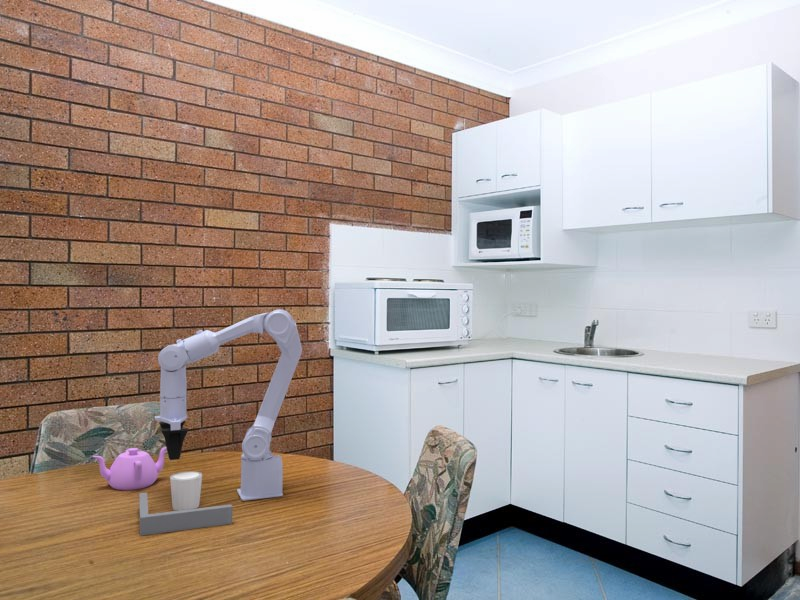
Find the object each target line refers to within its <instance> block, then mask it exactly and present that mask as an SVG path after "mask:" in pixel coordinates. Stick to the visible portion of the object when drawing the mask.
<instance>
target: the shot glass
mask: <svg viewBox="0 0 800 600" xmlns="http://www.w3.org/2000/svg"><path fill="white" fill-rule="evenodd" d="M169 479H170V494H171V505H172V509H173V510H174V511H180V510H189V509H197V508H199V507H200V501H201V500H200V499H201V491H202V483H203V482H202V481H203V473H202V472H200V471H195V470H194V471H193V470H191V471H189V470H188V471H186V470H185V471H180V472H179V471H178V472H175V473H173V474H171V475H170V476H169Z"/></svg>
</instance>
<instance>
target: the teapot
mask: <svg viewBox="0 0 800 600" xmlns="http://www.w3.org/2000/svg"><path fill="white" fill-rule="evenodd" d="M166 452H167V448H166V446H164V447H162V448H160V451H159V454H158V455H159V456H158V460H157V462H155V461H154V459H153V458H152V456H151V455H150V454H149V453H148V452H147V451H143V450H140V451H139V448H138V447H130V448H127V449H125V451H124V452H123V453H120V454H119V455H117V457H116V458H115V460H114V461H113V463H112V465H111V466H110V468H107V467H106V462H105V461H106V460H105V459H104V458H103V456H100V455H92V457H93V458H94V459H96V460H97V462H98V465H99V473H100V475H101V477H102V478H103V479H105V480H106V481H107V483H108V485H110V487H111V488H112V489H114V490H119V491H133V490H139V489H144V488H147V487H148V488H149V486H151V485H153V484H154V483H155V481H157V479H158V476H159V474H160V472H161V471H162V470H163V468H164V465H165V455H166V454H165V453H166Z"/></svg>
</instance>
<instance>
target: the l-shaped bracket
mask: <svg viewBox="0 0 800 600" xmlns="http://www.w3.org/2000/svg"><path fill="white" fill-rule="evenodd" d="M148 504H149V503H148V492H139V504H138V505H139V506H138V507H139V508H138V509H139V510H138V511H139V513H138V515H139V516H138V517H139V536H140V537H141V536H149V535H156V534H163V533H172V532H180V531H186V530H187V531H188V530H194V529H202V528H209V527H210V528H211V527H217V526H225V525H232V524H233V511H234V510H233V505H232V503H231V504H223V505H216V506H215V505H214V506H208V507H207V506H206V507H197V508H195V509H189V510H180V511H177V510H174V511H165V512H156V513H149V505H148Z"/></svg>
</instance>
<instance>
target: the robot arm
mask: <svg viewBox="0 0 800 600" xmlns="http://www.w3.org/2000/svg"><path fill="white" fill-rule="evenodd" d="M195 333H196V334H193V335H191V336H189V337H187V338H184V339H183V340H182V338H179V339H177V340H176V343H174V344H169V345H167V346H165V347H164V348H163V349H161V350H160V352H159V353H158V357H157V362H158V364H159V366H160V381H159V382H160V385H159V387H160V388H159V391H160V393H159V396H160V397H159V405H160V406H159V407H160V408H159V415H155V416H154V421H159V422H158V424H159V426H160V427H161V430H160V431H161V434H162V436H163V437H164V441H165V447H166V448H167V450H166V452H167V454H168V459H169V461H174V460H175V461H176V460H180V458H181V455H182V448H183V445H184V441H185V438H186V436H187V434H188V431H189V428H188V427H187V428H185V427H184V424H185V423H186V420H187V419H188V414H187V389H188V387H187V381H188V380H187V367H186V365H187V364H188V363H189V364H192V363H193V364H194V363H195V362H198V361H200V360H202V359H204V358H207V357H210V356H211V355H213V354H214V355H215V354H217V353H218V351H219V348H220V346H221V345H223V344H226V343H228V342H230V341H233V340H237V339H238V338H241V337H244V336H246V335H248V334H252V333H255V334H261V335H263V334H264V333H267V334H268V335H269V336H270V337H271V338H272V339H273V340H274V341H275V342H276V344H277V347H278V349H279V350H280V356H279V359H278V361H277V364H276V367H275V369H274V371H273V374H272V376H271V379H270V381H269V385H268V387H267V390H266V392H265V394H264V397H263V400H262V402H261V405H260V408H259V410H258V412H257V416H256V418H255V419H254V420H255V421H254V422H253V424H252V425H251V427H249V428H248V429H247V431H246V432H245V436H244V438H243V440H242V442H241V450H242V454H241V455H240V457H241V459H240V462H241V463H240V488H237V489H236V492H237V493H238V494H237V495H239V498H240V500H241V501H244V502H245V501H246V502H247V501H251V500H252V501H253V500H261V499H270V498H276V497H277V498H278V497H283V496H284V494H283V476H284V474H283V471H284V468H283V466H284V465H283V460H282V456H281V455H279V454H274V453H273V452H272V451H271V450H270V448H271V445H270V444H271V441H272V438H273V437H272V431H273V428H274V426H275V422H276V420H277V418H278V415H279V413H280V410H281V407H282V404H283V402H284V400H285V396H286V394H287V392H288V389H289V387H290V384H291V382H292V378H293V376H294V374H295V372H296V369H297V366H298V365H299V361H300V359H301V356H302V353H303V348H302V343H301V342H302V341H301V339H300V335H299V331H298V327H297V323H296V321H295V320H294V318H293V317H292V315H291V314H290V313H289V312H288V311H287V310H285V309H282V308H281V309H279V308H278V309H275V310H272V311H270V312H264V313H261V314H260V313H259V314H256V315H252V316H250V317H247V318H245V319H243V320H241V321H238V322H237V323H235V324H231V325H230V326H227V327H226V328H225V327H224V328H223V329H220V330H219V331H216V332H214V331H211V330H209V329H206V330H204V331H203V330H202V329H199V330H197V331H195ZM183 427H184V428H183Z"/></svg>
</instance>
